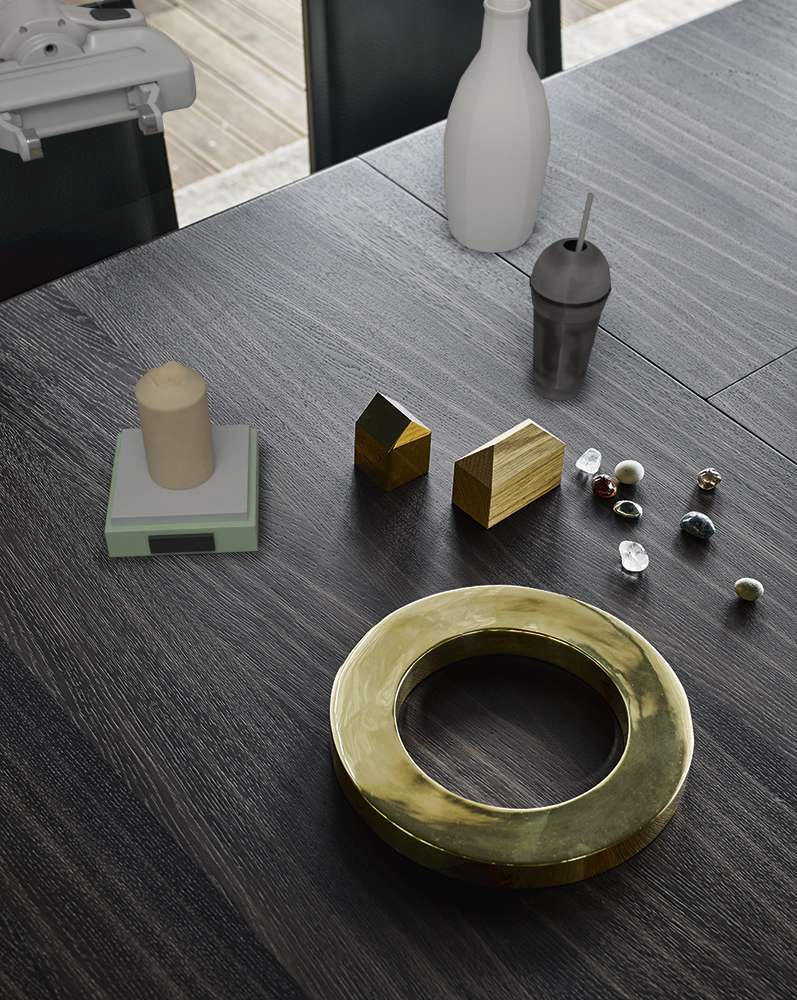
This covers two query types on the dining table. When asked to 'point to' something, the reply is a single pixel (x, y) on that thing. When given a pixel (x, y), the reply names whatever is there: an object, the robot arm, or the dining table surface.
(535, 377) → the beverage cup
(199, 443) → the candle
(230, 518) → the scale
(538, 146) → the bottle
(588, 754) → the dining table surface
